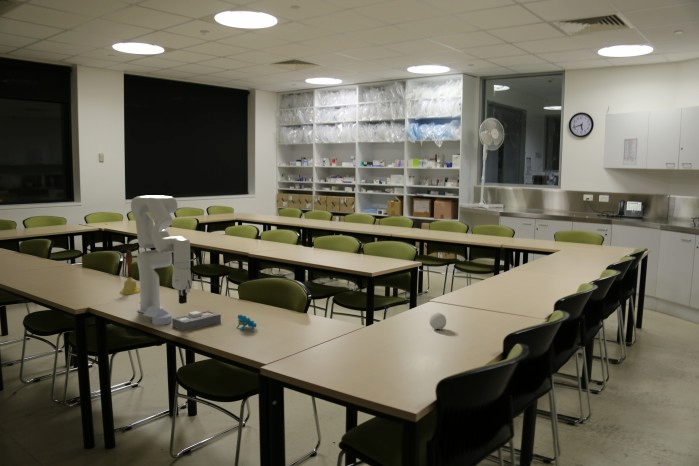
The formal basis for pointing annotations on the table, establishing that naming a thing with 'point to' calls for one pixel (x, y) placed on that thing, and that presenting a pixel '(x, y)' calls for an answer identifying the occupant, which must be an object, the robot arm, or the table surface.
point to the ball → (437, 321)
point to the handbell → (129, 278)
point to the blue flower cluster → (245, 322)
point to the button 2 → (195, 314)
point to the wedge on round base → (158, 316)
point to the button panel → (196, 321)
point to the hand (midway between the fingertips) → (182, 302)
